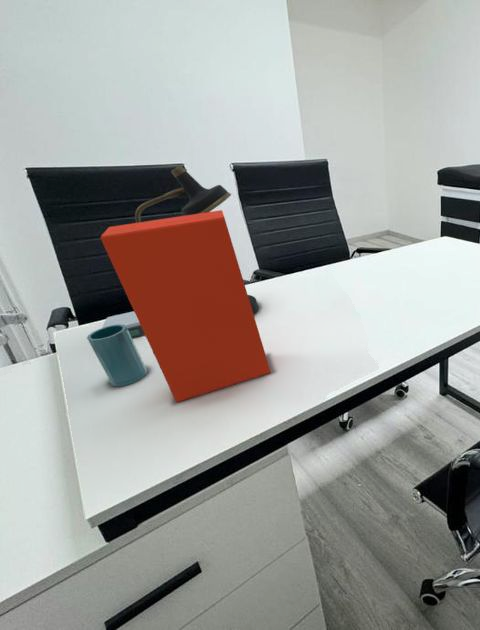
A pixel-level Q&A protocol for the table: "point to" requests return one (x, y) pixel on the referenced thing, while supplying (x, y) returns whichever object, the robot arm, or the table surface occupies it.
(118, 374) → the cup
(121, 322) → the scale
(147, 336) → the file binder
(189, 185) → the lamp
